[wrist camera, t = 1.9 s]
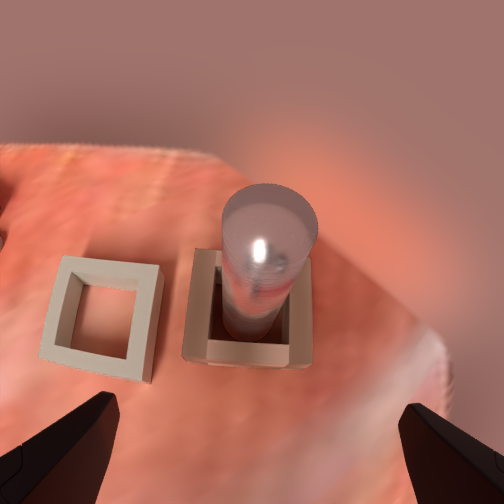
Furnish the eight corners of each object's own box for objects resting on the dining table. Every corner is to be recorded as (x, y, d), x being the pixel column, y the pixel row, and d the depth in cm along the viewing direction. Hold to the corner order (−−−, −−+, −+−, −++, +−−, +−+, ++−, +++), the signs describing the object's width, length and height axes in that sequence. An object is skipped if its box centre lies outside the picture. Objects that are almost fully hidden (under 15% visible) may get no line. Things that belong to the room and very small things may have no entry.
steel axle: (282, 322, 23) (336, 232, 12) (242, 351, 21) (262, 283, 11) (252, 285, 24) (277, 171, 13) (212, 311, 23) (203, 210, 12)
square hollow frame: (165, 279, 24) (159, 265, 21) (150, 384, 20) (141, 380, 18) (74, 269, 23) (62, 255, 21) (54, 363, 19) (38, 357, 17)
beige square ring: (301, 275, 25) (310, 257, 22) (301, 370, 21) (312, 363, 18) (198, 267, 24) (195, 248, 22) (187, 362, 21) (181, 355, 18)
